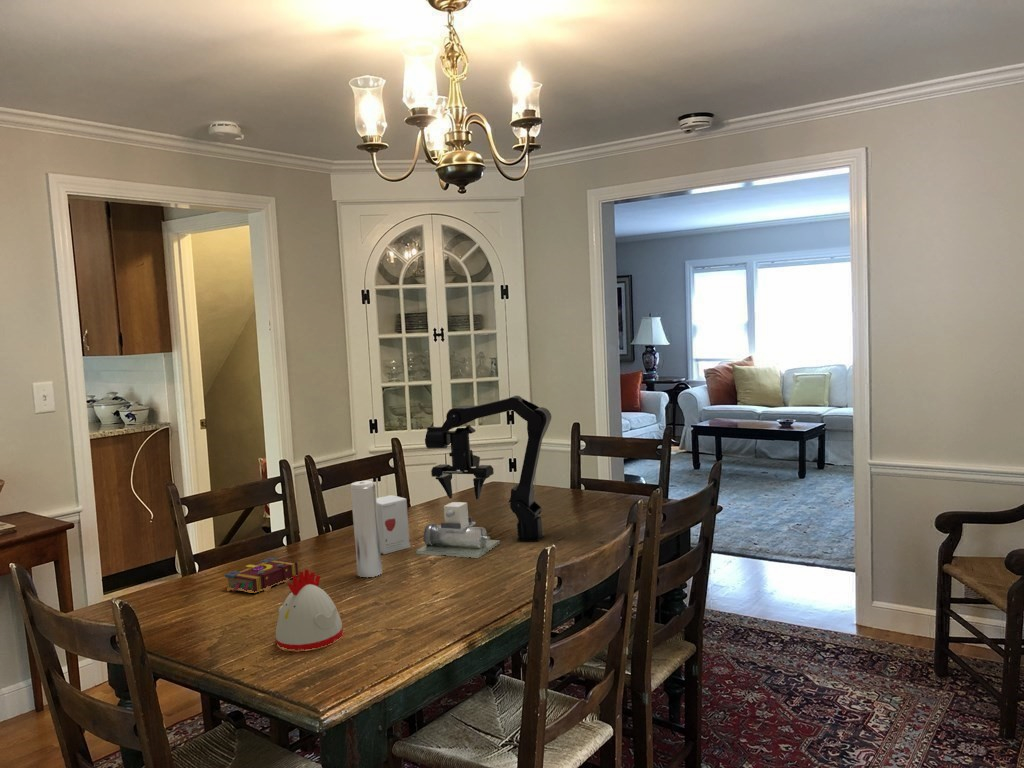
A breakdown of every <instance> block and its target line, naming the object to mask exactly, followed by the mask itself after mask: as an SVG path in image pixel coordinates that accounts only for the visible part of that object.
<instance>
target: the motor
mask: <svg viewBox="0 0 1024 768" xmlns="http://www.w3.org/2000/svg"><path fill="white" fill-rule="evenodd" d="M468 521H469V523H468V524H466V525H464V526H462V527H461V523H445V522H443V521H442V522H440V524H438V523H428V524H427V525H426V526H425V528H424V532H423V542H424V544H425V545H423V546H422V547H419V548H418V549H416V551H415V553H416V555H417V554H418V555H429V556H430V555H431V556H441V555H446V556H445V557H455V556H456V557H458V558H469V557H471V559H472V558H473V559H474V558H475V559H480V558H481V557H482V555H483V556H484V555H486V554H487V553H488V552H490V551H491V550H493V549H495V548H496V547H497V546H499V545H500V544H501V540H497V539H491V536H489V535H488V534H487V533H488V532H487V529H486V528H485V527H482V526H475V525H476V521H473V516H468ZM498 544H499V545H498ZM495 546H496V547H495ZM492 548H493V549H492ZM489 550H490V551H489ZM486 552H487V553H486ZM479 557H480V558H479Z"/></svg>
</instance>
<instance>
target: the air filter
mask: <svg viewBox="0 0 1024 768" xmlns="http://www.w3.org/2000/svg"><path fill="white" fill-rule="evenodd" d="M350 484H351V485H350V497H351V510H352V522H353V532H354V535H353V536H354V544H355V556H356V570H357V576H358V577H359V576H360V577H359V578H361V577H367V578H366V579H369V578H368V577H372V578H376V577H379V576H381V575H382V574H383V566H382V553H381V551H380V539H379V527H378V515H377V502H376V498H377V492H376V491H377V490H376V485H375V484H374V483H373V481H371V480H361V481H360V480H359V481H354V482H352V483H350ZM380 574H381V575H380ZM378 575H379V576H378ZM375 576H376V577H375Z"/></svg>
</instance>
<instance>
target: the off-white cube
mask: <svg viewBox="0 0 1024 768" xmlns="http://www.w3.org/2000/svg"><path fill="white" fill-rule="evenodd" d="M443 513H444V523H461V527H462V526H464V525H466V524H468V523H469V521H468V517H469V511H468V502H459V501H458V502H457V501H451V502H449V503H447V504H446V505H443Z"/></svg>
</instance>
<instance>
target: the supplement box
mask: <svg viewBox="0 0 1024 768" xmlns="http://www.w3.org/2000/svg"><path fill="white" fill-rule="evenodd" d="M376 502H377V515H378V527H379V539H380V551H381V554H383V555H387V554H391V553H395V552H398V551H402V550H406V549H409V548H411V545H410V533H409V532H410V531H409V517H408V503H407V498H404V497H401V496H397V495H393V494H390V495H384V496H381V497H376Z"/></svg>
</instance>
